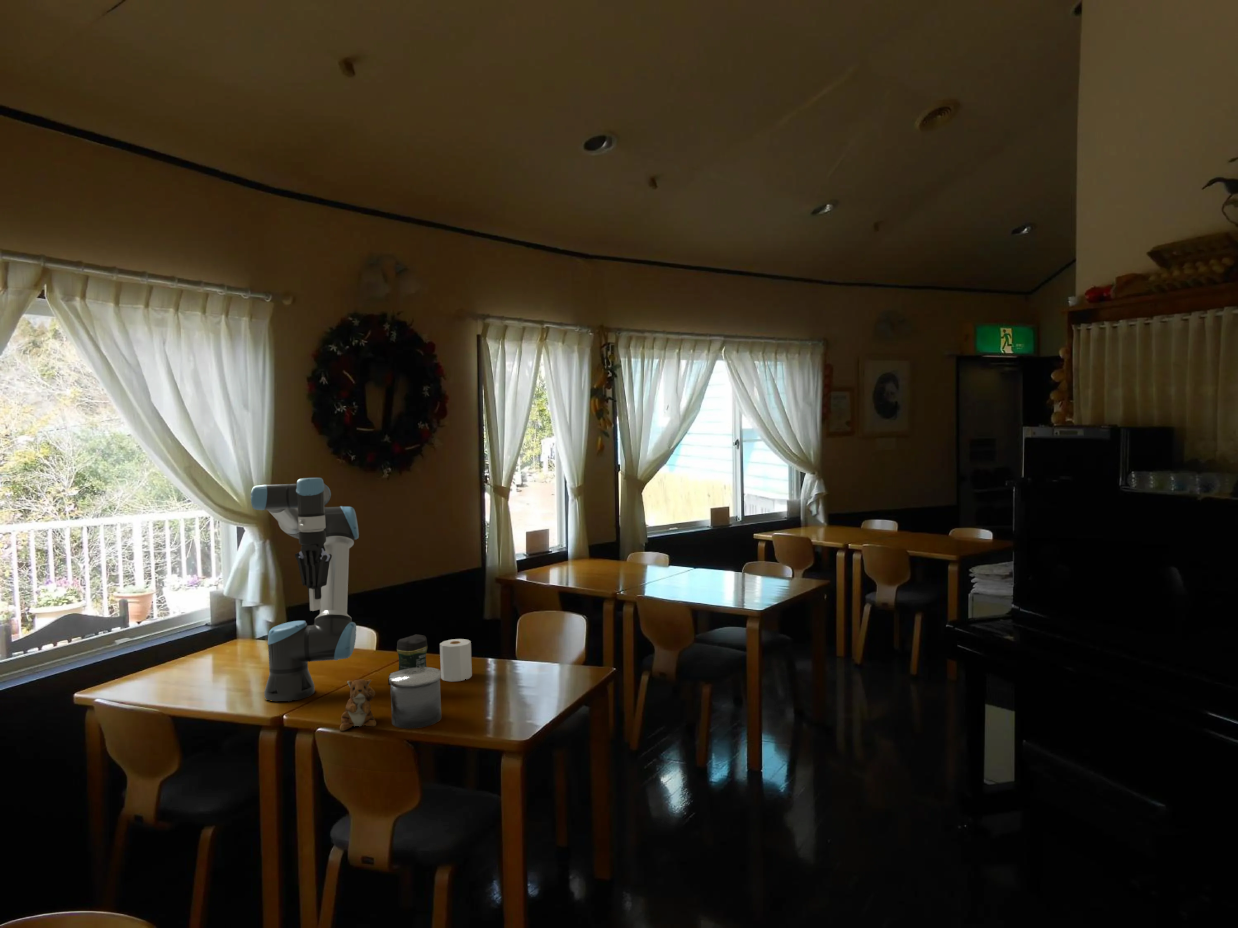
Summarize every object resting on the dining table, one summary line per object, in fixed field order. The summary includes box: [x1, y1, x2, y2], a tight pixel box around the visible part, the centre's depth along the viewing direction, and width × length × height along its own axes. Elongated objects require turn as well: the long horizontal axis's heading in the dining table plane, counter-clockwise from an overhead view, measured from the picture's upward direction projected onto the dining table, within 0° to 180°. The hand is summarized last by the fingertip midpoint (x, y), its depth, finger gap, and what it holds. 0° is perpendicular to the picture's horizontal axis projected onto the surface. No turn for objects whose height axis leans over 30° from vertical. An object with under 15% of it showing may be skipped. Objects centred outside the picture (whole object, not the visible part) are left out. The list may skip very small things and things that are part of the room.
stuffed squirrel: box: [339, 678, 377, 732], centre depth 237 cm, size 10×14×13 cm
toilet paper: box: [439, 638, 473, 683], centre depth 279 cm, size 10×10×12 cm
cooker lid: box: [388, 666, 441, 687], centre depth 237 cm, size 15×15×1 cm
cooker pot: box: [387, 677, 442, 730], centre depth 238 cm, size 15×14×12 cm
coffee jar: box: [396, 634, 428, 671], centre depth 263 cm, size 10×8×19 cm
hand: (315, 609), depth 240 cm, fingers closed
